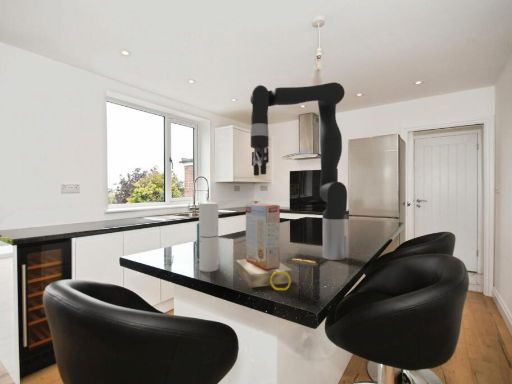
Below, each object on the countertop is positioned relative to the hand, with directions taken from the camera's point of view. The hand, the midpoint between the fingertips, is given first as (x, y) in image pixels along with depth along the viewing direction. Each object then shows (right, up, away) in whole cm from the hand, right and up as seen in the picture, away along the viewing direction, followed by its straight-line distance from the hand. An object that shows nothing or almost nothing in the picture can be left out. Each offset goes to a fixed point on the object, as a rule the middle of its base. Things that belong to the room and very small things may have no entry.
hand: (259, 174), depth 113 cm
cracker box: (+1, -33, -19) cm, 38 cm away
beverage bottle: (-23, -36, +1) cm, 43 cm away
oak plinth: (+1, -36, -20) cm, 41 cm away
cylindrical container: (-19, -37, -11) cm, 43 cm away
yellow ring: (+6, -37, -32) cm, 49 cm away
